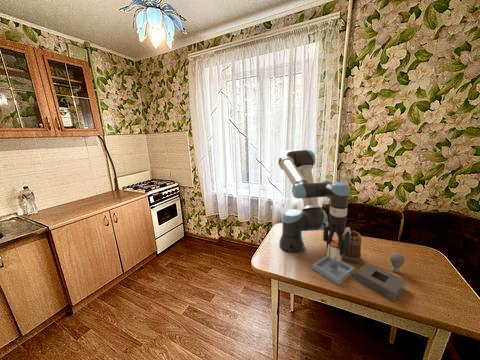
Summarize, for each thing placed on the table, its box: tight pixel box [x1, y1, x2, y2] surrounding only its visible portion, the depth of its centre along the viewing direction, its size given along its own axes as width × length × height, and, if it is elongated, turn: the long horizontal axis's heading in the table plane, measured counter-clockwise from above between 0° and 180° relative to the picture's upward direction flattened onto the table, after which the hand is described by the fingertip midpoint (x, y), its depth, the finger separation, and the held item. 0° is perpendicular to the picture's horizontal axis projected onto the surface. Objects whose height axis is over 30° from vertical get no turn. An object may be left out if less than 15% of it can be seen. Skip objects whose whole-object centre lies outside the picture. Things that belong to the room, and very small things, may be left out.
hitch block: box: [354, 262, 407, 302], centre depth 92 cm, size 16×12×4 cm
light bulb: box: [389, 252, 406, 273], centre depth 99 cm, size 6×6×10 cm
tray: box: [312, 255, 355, 286], centre depth 101 cm, size 14×14×3 cm
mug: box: [341, 226, 362, 264], centre depth 113 cm, size 16×11×15 cm
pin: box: [329, 239, 339, 269], centre depth 99 cm, size 4×4×14 cm
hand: (334, 257), depth 100 cm, fingers closed on pin, 4 cm apart
